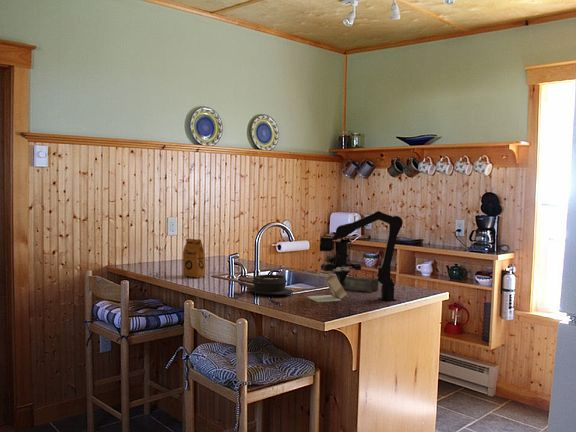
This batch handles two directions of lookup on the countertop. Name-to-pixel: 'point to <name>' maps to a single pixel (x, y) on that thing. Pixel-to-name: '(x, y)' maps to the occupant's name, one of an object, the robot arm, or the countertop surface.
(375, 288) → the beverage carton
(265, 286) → the casserole
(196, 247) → the coffee package
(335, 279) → the beige bevelled block
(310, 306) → the countertop surface
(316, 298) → the mat
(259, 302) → the countertop surface
